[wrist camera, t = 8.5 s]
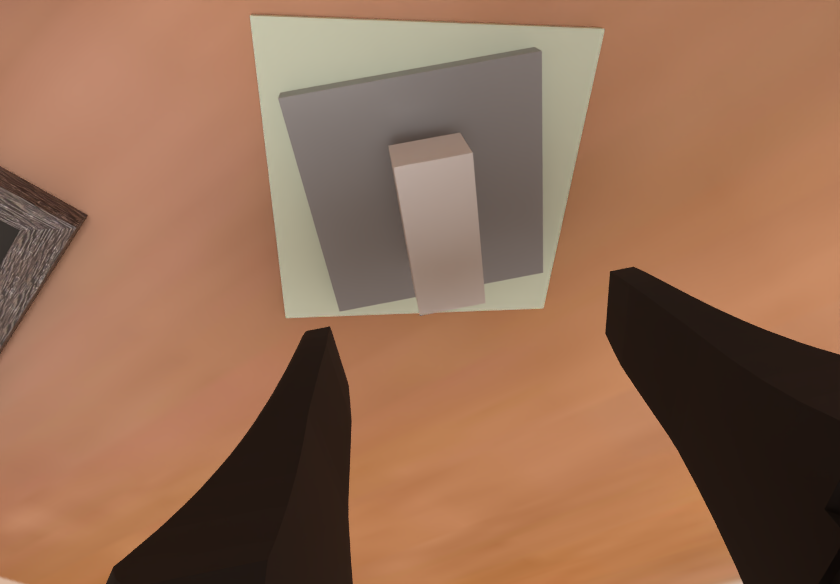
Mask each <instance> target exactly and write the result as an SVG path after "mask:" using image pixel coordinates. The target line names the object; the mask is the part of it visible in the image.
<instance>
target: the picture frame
mask: <svg viewBox="0 0 840 584" xmlns="http://www.w3.org/2000/svg"><path fill="white" fill-rule="evenodd" d="M86 217H87V215H86V214H85V213H83V212H81V211H79V210H77V209H76V208H74V207H72V206H70V205H68V204H67V203H65V202H63V201H61V200H60V199H58V198H56V197H54V196H52V195H51V194H49V193H47V192H45V191H43V190H42V189H40V188H38V187H36V186H34V185H33V184H31V183H29V182H27V181H26V180H24V179H22V178H20V177H18V176H17V175H15V174H13V173H11V172H9V171H8V170H6V169H4V168H2V167H1V166H0V353H1V351H2V350H3V348H4V347H5V345H6V344H7V342H8V340H9V339H10V337H11V336H12V334H13V333H14V331H15V329H16V328H17V326H18V325H19V323H20V321H21V320H22V318H23V317H24V315H25V314H26V312H27V310H28V309H29V307H30V306H31V304H32V302H33V301H34V299H35V298H36V296H37V295H38V293H39V291H40V290H41V288H42V287H43V285H44V283H45V282H46V280H47V279H48V277H49V276H50V274H51V272H52V271H53V269H54V268H55V266H56V264H57V263H58V261H59V260H60V258H61V257H62V255H63V253H64V252H65V250H66V249H67V247H68V245H69V244H70V242H71V241H72V239H73V238H74V236H75V234H76V233H77V231H78V230H79V228H80V226H81V225H82V223H83V222H84V220H85V219H86Z"/></svg>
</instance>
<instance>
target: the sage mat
mask: <svg viewBox="0 0 840 584" xmlns="http://www.w3.org/2000/svg"><path fill="white" fill-rule="evenodd" d="M250 22H251V30H252V39H253V47H254V55H255V64H256V72H257V81H258V89H259V98H260V106H261V114H262V123H263V131H264V140H265V148H266V157H267V165H268V173H269V182H270V190H271V199H272V207H273V216H274V224H275V232H276V241H277V249H278V258H279V266H280V274H281V283H282V291H283V300H284V308H285V317H286V318H302V317H329V316H355V315H382V314H409V313H419V309H418V305H417V300H416V297H414V298H409V299H403V300H398V301H393V302H388V303H382V304H377V305H372V306H367V307H362V308H356V309H351V310H346V311H341V312H340V311H339V308H338V304H337V301H336V297H335V294H334V290H333V287H332V284H331V280H330V277H329V273H328V270H327V266H326V263H325V259H324V256H323V252H322V249H321V245H320V242H319V239H318V235H317V232H316V228H315V225H314V221H313V218H312V214H311V211H310V207H309V204H308V200H307V197H306V194H305V190H304V187H303V183H302V180H301V176H300V173H299V169H298V166H297V162H296V159H295V155H294V152H293V149H292V145H291V142H290V138H289V135H288V131H287V128H286V124H285V121H284V117H283V114H282V110H281V107H280V104H279V100H278V97H279V95H280V93H281V92H287V91H292V90H298V89H303V88H309V87H314V86H320V85H326V84H331V83H337V82H342V81H348V80H353V79H359V78H364V77H370V76H376V75H381V74H387V73H392V72H398V71H403V70H409V69H415V68H420V67H426V66H431V65H437V64H442V63H448V62H453V61H459V60H465V59H470V58H476V57H481V56H487V55H492V54H498V53H504V52H509V51H515V50H520V49H526V48H531V47H536V48H537V49H539V50H541V51H542V156H543V273H539V274H534V275H529V276H523V277H518V278H513V279H508V280H503V281H497V282H492V283H487V284H484V290H485V302H486V303H484V304H479V305H473V306H468V307H463V308H458V309H453V310H447V311H442V312H462V311H489V310H516V309H542V308H544V303H545V299H546V294H547V290H548V285H549V281H550V276H551V272H552V267H553V263H554V258H555V253H556V249H557V244H558V240H559V235H560V231H561V226H562V222H563V217H564V213H565V208H566V204H567V199H568V194H569V190H570V185H571V181H572V176H573V172H574V167H575V163H576V158H577V154H578V149H579V144H580V140H581V135H582V131H583V126H584V122H585V117H586V113H587V108H588V104H589V99H590V95H591V90H592V85H593V81H594V76H595V72H596V67H597V63H598V58H599V54H600V49H601V45H602V40H603V36H604V31H605V29H603V28H600V27H575V26H549V25H522V24H496V23H470V22H444V21H417V20H391V19H365V18H339V17H312V16H286V15H260V14H251V15H250Z"/></svg>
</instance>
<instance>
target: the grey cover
mask: <svg viewBox="0 0 840 584" xmlns="http://www.w3.org/2000/svg"><path fill="white" fill-rule="evenodd" d="M278 100H279V104H280V107H281V110H282V114H283V117H284V121H285V124H286V128H287V131H288V135H289V138H290V142H291V145H292V149H293V152H294V155H295V159H296V162H297V166H298V169H299V173H300V176H301V180H302V183H303V187H304V190H305V194H306V197H307V200H308V204H309V207H310V211H311V214H312V218H313V221H314V225H315V228H316V232H317V235H318V239H319V242H320V245H321V249H322V252H323V256H324V259H325V263H326V266H327V270H328V273H329V277H330V280H331V284H332V287H333V290H334V294H335V297H336V301H337V304H338V308H339V311H340V312H341V311H346V310H351V309H356V308H362V307H367V306H372V305H377V304H382V303H388V302H393V301H398V300H403V299H409V298H414V297H416V300H417V305H418V309H419V314H420V316H421V315H427V314H432V313H437V312H442V311H447V310H453V309H458V308H463V307H468V306H473V305H479V304H484V303H486V302H485V290H484V284H487V283H492V282H497V281H503V280H508V279H513V278H518V277H523V276H529V275H534V274H539V273H543V156H542V51H541V50H539V49H537V48H536V47H531V48H526V49H520V50H515V51H509V52H504V53H498V54H492V55H487V56H481V57H476V58H470V59H465V60H459V61H453V62H448V63H442V64H437V65H431V66H426V67H420V68H415V69H409V70H403V71H398V72H392V73H387V74H381V75H376V76H370V77H364V78H359V79H353V80H348V81H342V82H337V83H331V84H326V85H320V86H314V87H309V88H303V89H298V90H292V91H287V92H281V93H280V95H279V97H278Z"/></svg>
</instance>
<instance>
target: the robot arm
mask: <svg viewBox="0 0 840 584" xmlns="http://www.w3.org/2000/svg"><path fill="white" fill-rule="evenodd" d="M605 334H606V336H607V338H608V340H609V342H610V344H611V346H612V348H613V351H614V353H615V355H616V357H617V358H618V360H619V362H620V364H621V366H622V368H623V369H624V371H625V372H626V374H627V375H628V377H629V378H630V380H631V381H632V383H633V384H634V386H635V387H636V389H637V390H638V392H639V393H640V395H641V396H642V398H643V399H644V400H645V402H646V403H647V405H648V406H649V408H650V409H651V411H652V412H653V414H654V415H655V416H656V418H657V419H658V421H659V422H660V424H661V425H662V427H663V428H664V430H665V431H666V433H667V434H668V436H669V437H670V439H671V440H672V442H673V444H674V445H675V447H676V448H677V450H678V452H679V454H680V455H681V457H682V459H683V461H684V463H685V465H686V467H687V468H688V470H689V472H690V474H691V476H692V478H693V480H694V481H695V483H696V485H697V487H698V489H699V491H700V493H701V495H702V497H703V499H704V501H705V503H706V505H707V507H708V509H709V511H710V513H711V515H712V517H713V519H714V521H715V523H716V525H717V527H718V529H719V531H720V534H721V536H722V538H723V540H724V542H725V544H726V546H727V548H728V551H729V553H730V555H731V557H732V559H733V561H734V563H735V566H736V568H737V570H738V572H739V575H740V577H741V579H742V582H743V584H840V355H839V354H836V353H832V352H829V351H825V350H822V349H819V348H815V347H812V346H809V345H806V344H803V343H800V342H797V341H794V340H792V339H789V338H786V337H783V336H781V335H778V334H775V333H772V332H770V331H767V330H765V329H762V328H760V327H757V326H755V325H752V324H750V323H748V322H745V321H743V320H741V319H738V318H736V317H734V316H732V315H729V314H727V313H725V312H723V311H721V310H719V309H716V308H714V307H712V306H710V305H708V304H706V303H704V302H702V301H700V300H698V299H696V298H694V297H692V296H690V295H688V294H686V293H684V292H682V291H680V290H679V289H677V288H675V287H673V286H671V285H669V284H667V283H665V282H663V281H661V280H659V279H657V278H656V277H654V276H652V275H650V274H648V273H646V272H644V271H642V270H639V269H637V268H635V267H630V268H625V269H620V270H615V271H610V280H609V293H608V306H607V320H606V333H605ZM350 448H351V408H350V396H349V385H348V382H347V378H346V375H345V372H344V369H343V366H342V363H341V359H340V356H339V353H338V350H337V347H336V344H335V340H334V337H333V334H332V331H331V328H330V327H325V328H320V329H315V330H310V331H306V332H305V333H304V335H303V337H302V339H301V341H300V343H299V345H298V347H297V349H296V351H295V353H294V355H293V357H292V359H291V361H290V363H289V365H288V367H287V369H286V371H285V372H284V374H283V376H282V378H281V380H280V381H279V383H278V385H277V387H276V389H275V390H274V392H273V394H272V395H271V397H270V399H269V400H268V402H267V403H266V405H265V407H264V408H263V410H262V411H261V413H260V414H259V416H258V418H257V419H256V421H255V422H254V424H253V425H252V426H251V428H250V429H249V431H248V432H247V434H246V435H245V436H244V438H243V439H242V440H241V442H240V443H239V444H238V446H237V447H236V448H235V449H234V451H233V452H232V453H231V455H230V456H229V457H228V458H227V459H226V461H225V462H224V463H223V464H222V465H221V466H220V467H219V469H218V470H217V471H216V472H215V473H214V474H213V475H212V476H211V478H210V479H209V480H208V481H207V482H206V483H205V484H204V485H203V486H202V488H201V489H200V490H199V491H198V492H197V493H196V494H195V495H194V496H193V497H192V498H191V499H190V500H189V501H188V502H187V503H186V504H185V505H184V506H183V507H182V508H181V509H180V510H179V511H177V512H176V513H175V514H174V515H173V516H172V517H171V518H170V519H169V520H168V521H167V522H166V523H165V524H164V525H162V526H161V527H160V528H159V529H158V530H157V531H156V532H155V533H153V534H152V535H151V536H150V537H149V538H147V539H146V540H145V541H144V542H143V543H142V544H140V545H139V546H138V547H137V548H136V549H134V550H133V551H132V552H131V553H130V554H129V555H127V556H126V557H125V558H124V559H123V560H121V561H120V562H119V563H118V564H116V565H115V566H114V567H113V569H112V571H111V574H110V576H109V578H108V580H107V583H106V584H353V582H352V568H351V554H350V537H349V520H348V496H349V472H350Z"/></svg>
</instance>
